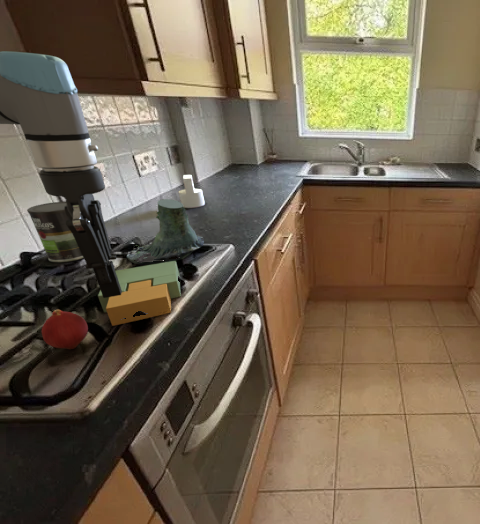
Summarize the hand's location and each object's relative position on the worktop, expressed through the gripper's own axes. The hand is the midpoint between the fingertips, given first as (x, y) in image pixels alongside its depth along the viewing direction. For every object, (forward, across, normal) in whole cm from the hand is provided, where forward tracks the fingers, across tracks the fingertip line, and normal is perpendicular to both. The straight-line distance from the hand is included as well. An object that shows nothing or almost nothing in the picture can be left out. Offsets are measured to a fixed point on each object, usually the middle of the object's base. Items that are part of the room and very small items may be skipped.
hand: (112, 294), depth 63 cm
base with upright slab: (+8, +88, -17) cm, 89 cm away
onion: (+7, -5, +7) cm, 11 cm away
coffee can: (+7, +44, +16) cm, 48 cm away
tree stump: (+7, +34, -8) cm, 36 cm away
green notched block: (+6, +11, -3) cm, 13 cm away
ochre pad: (+6, +4, -3) cm, 8 cm away
